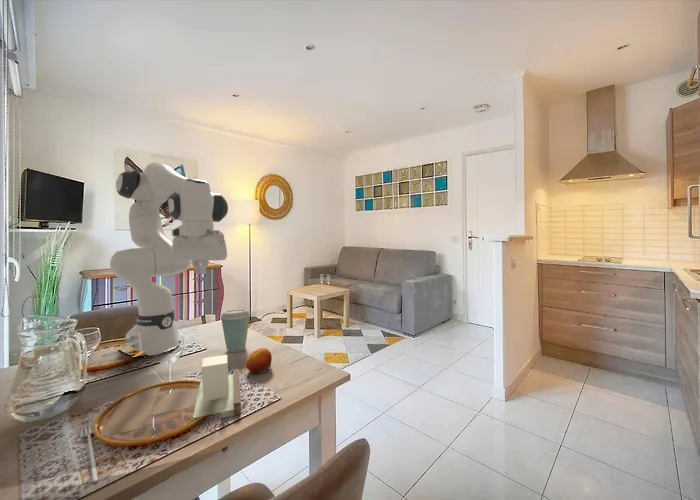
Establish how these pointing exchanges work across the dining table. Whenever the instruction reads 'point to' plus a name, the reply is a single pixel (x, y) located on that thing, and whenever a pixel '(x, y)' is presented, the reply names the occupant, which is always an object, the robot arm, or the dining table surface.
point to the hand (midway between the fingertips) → (200, 274)
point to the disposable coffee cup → (235, 328)
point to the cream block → (215, 378)
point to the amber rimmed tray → (171, 406)
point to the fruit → (259, 361)
